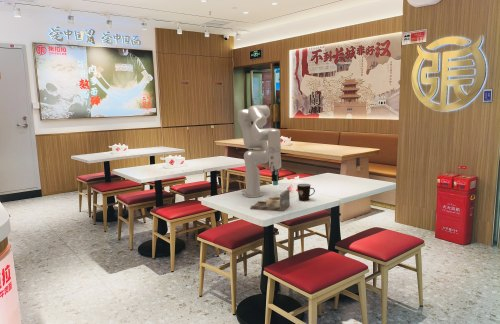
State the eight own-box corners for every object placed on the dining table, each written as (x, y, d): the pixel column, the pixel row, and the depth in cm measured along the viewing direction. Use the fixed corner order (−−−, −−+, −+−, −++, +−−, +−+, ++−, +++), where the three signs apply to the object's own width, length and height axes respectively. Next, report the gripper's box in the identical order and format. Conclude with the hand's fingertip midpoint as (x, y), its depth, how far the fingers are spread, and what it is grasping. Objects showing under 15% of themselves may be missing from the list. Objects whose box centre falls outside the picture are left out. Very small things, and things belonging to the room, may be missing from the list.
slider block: (266, 207, 227) (266, 200, 227) (271, 203, 236) (271, 196, 235) (280, 208, 224) (280, 201, 223) (285, 204, 232) (285, 197, 232)
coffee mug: (294, 199, 249) (294, 184, 248) (306, 197, 252) (305, 183, 251) (304, 203, 238) (304, 187, 237) (315, 201, 242) (315, 186, 240)
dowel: (272, 185, 227) (271, 172, 226) (273, 184, 230) (273, 171, 229) (277, 185, 226) (276, 172, 225) (278, 184, 229) (278, 171, 228)
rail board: (250, 209, 229) (249, 192, 228) (257, 203, 241) (257, 188, 240) (283, 211, 222) (283, 194, 220) (289, 205, 234) (289, 189, 232)
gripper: (276, 151, 216) (277, 183, 219) (284, 148, 231) (285, 178, 234) (263, 151, 219) (264, 182, 221) (272, 148, 234) (273, 177, 236)
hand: (275, 180), depth 227 cm, fingers closed on dowel, 2 cm apart
